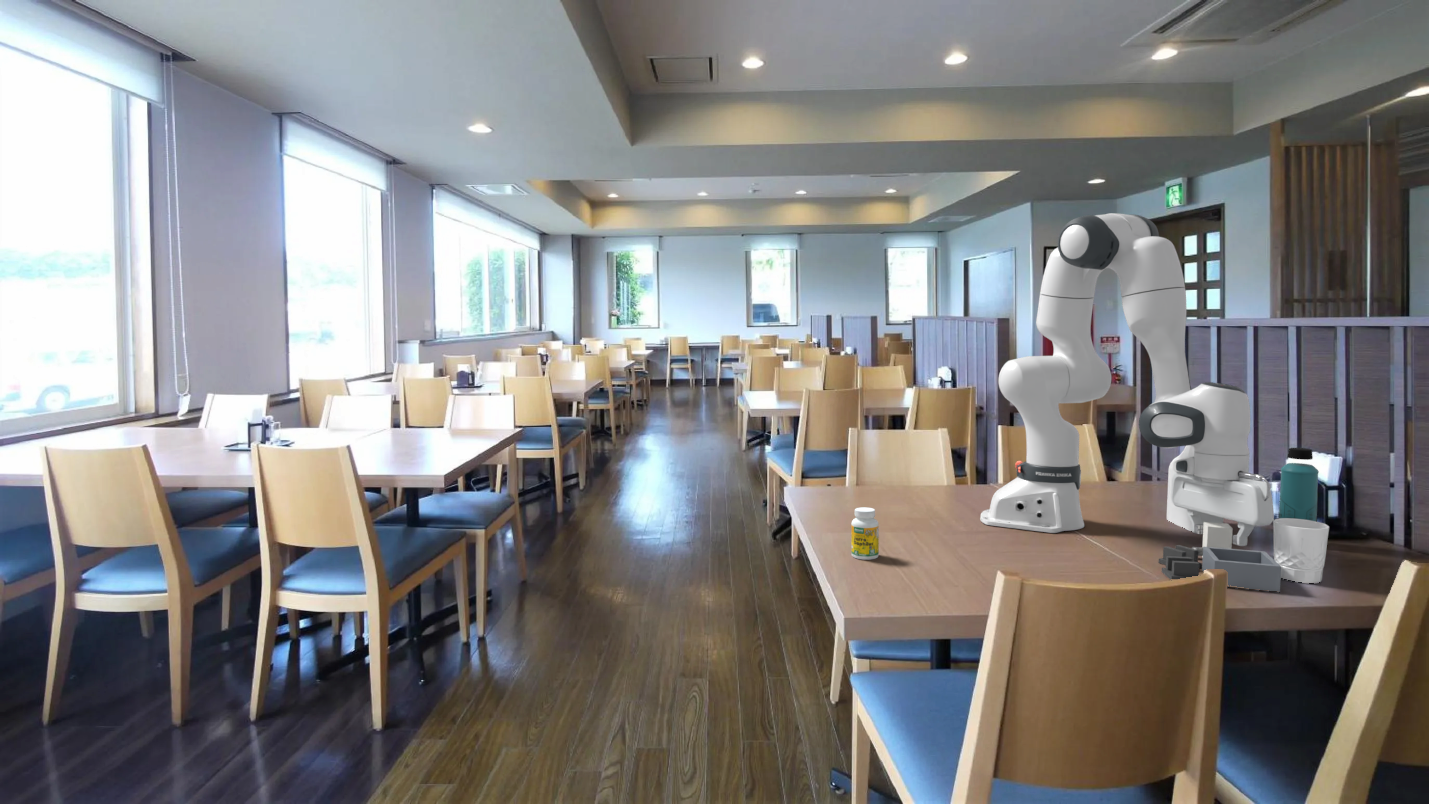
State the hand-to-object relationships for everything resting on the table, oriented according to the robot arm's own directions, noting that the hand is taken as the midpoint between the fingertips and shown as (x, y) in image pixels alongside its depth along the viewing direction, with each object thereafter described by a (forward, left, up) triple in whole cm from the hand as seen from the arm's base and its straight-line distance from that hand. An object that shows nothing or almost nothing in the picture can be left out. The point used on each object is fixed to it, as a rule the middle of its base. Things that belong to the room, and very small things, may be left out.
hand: (1218, 539), depth 147 cm
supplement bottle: (-64, -20, -5) cm, 67 cm away
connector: (0, +1, -5) cm, 5 cm away
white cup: (+11, -6, -5) cm, 14 cm away
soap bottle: (+2, +30, -5) cm, 30 cm away
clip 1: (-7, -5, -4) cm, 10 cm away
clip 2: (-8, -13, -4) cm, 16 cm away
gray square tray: (+1, -12, -4) cm, 13 cm away
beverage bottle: (+18, +21, -5) cm, 28 cm away
